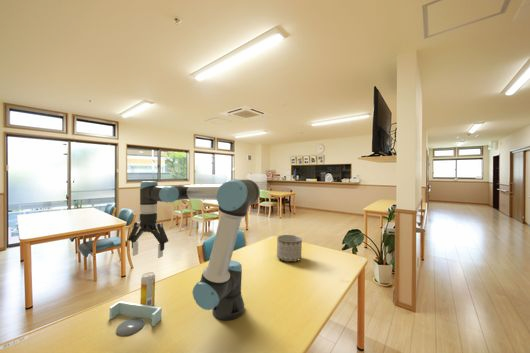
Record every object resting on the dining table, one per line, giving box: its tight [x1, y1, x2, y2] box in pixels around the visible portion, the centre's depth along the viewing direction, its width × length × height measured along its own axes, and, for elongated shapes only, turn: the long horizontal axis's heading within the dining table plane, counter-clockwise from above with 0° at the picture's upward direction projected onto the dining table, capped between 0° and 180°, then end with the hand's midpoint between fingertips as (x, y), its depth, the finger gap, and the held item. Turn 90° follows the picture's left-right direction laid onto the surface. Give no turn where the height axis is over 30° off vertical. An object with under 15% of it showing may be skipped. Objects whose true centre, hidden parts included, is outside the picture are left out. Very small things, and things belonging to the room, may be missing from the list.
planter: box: [276, 234, 303, 262], centre depth 172 cm, size 19×19×16 cm
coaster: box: [115, 317, 145, 337], centre depth 91 cm, size 10×10×1 cm
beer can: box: [140, 272, 156, 306], centre depth 107 cm, size 6×6×15 cm
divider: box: [108, 300, 163, 327], centre depth 96 cm, size 22×5×5 cm, turn 80°
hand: (147, 256), depth 106 cm, fingers open, 13 cm apart
